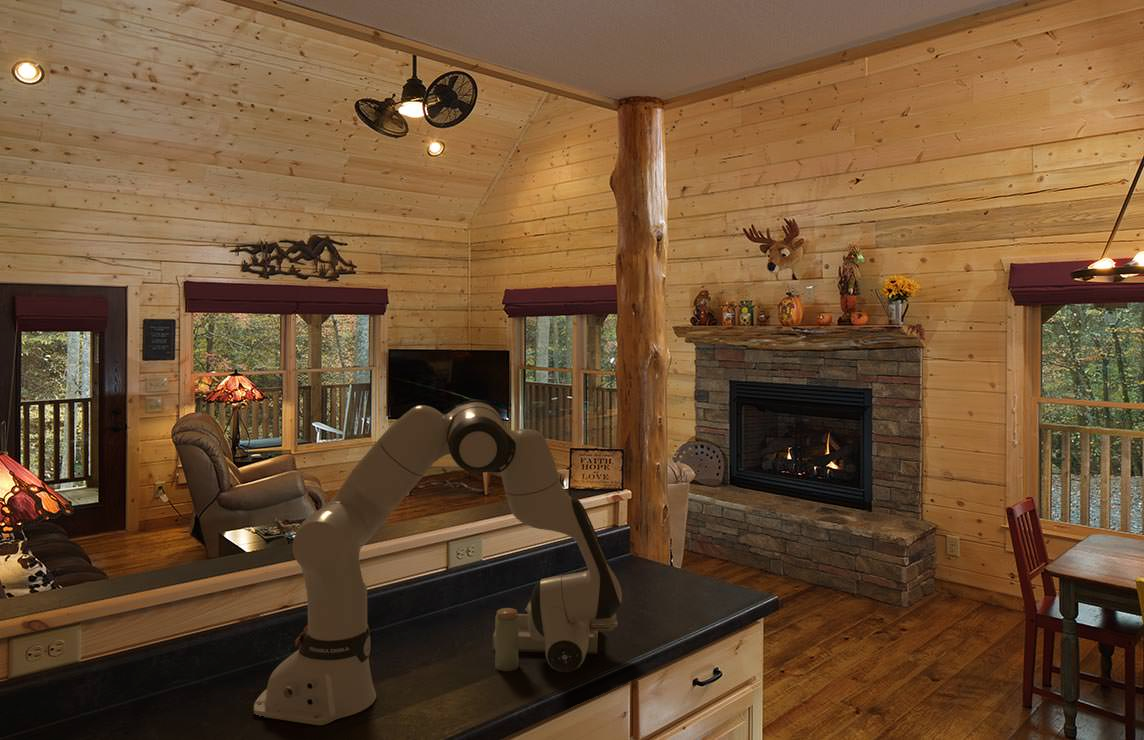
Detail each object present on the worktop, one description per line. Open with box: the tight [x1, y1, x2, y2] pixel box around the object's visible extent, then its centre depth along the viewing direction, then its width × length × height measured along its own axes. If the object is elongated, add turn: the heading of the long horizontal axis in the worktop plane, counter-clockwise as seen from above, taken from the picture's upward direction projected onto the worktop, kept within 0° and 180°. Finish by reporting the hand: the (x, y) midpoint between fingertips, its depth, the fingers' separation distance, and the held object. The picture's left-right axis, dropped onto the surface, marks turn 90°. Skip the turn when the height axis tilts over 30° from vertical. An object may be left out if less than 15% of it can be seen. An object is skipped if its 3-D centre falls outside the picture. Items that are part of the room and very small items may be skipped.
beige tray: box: [492, 613, 599, 655], centre depth 177 cm, size 24×14×4 cm, turn 87°
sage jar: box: [494, 607, 520, 672], centre depth 163 cm, size 5×5×12 cm
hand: (573, 603), depth 177 cm, fingers open, 5 cm apart
